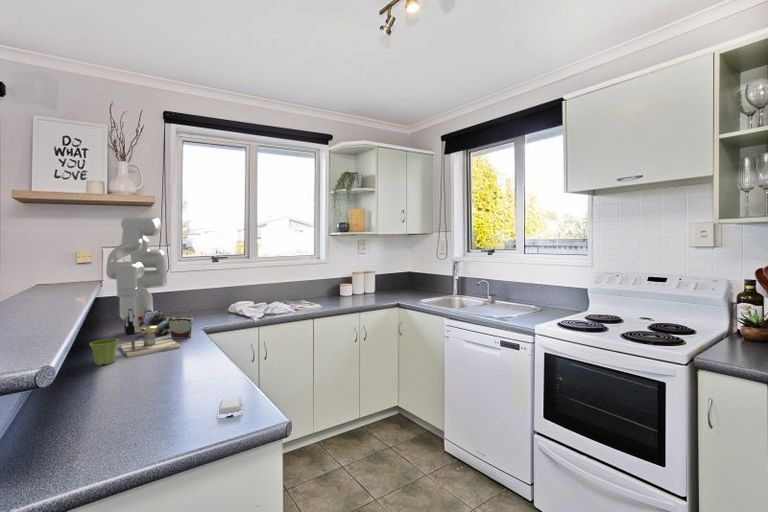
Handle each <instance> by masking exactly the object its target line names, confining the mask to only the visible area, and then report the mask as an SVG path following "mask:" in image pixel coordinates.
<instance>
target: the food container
mask: <svg viewBox="0 0 768 512" xmlns="http://www.w3.org/2000/svg"><path fill="white" fill-rule="evenodd" d="M168 322H169V326H170V329H169V332H170V338H171V339H191V337H192V329H193V328H192V325H193V322H194V318H193V316H192V315H187V314H186V315H175V316H174V315H173V316H169V318H168Z"/></svg>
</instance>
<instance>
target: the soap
mask: <svg viewBox="0 0 768 512" xmlns="http://www.w3.org/2000/svg"><path fill="white" fill-rule="evenodd" d="M241 402H242V398H241V397H240V396H236V397H235V396H234V397H227V398H222V399H221V400H220V402H219V406H218V408H219V415H220V414H228V413H234V412H239V411H241V406H242V403H243V402H242V403H241Z"/></svg>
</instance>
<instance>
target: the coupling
mask: <svg viewBox="0 0 768 512" xmlns="http://www.w3.org/2000/svg"><path fill="white" fill-rule="evenodd" d="M128 321H129V320H128ZM124 327H125V333H124V335H126V320H125V321H124V320H123V328H124ZM156 331H157V326H155V325H151V326H144V327H141V329H135V334H136V333H137V334H138V333H141V334H143V333H152V332H156ZM126 336H127V335H126Z"/></svg>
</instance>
